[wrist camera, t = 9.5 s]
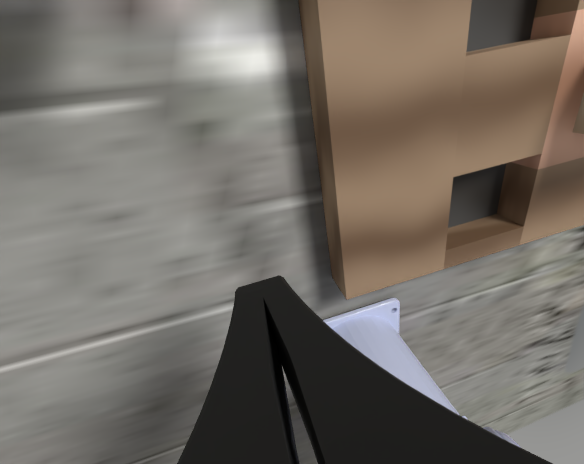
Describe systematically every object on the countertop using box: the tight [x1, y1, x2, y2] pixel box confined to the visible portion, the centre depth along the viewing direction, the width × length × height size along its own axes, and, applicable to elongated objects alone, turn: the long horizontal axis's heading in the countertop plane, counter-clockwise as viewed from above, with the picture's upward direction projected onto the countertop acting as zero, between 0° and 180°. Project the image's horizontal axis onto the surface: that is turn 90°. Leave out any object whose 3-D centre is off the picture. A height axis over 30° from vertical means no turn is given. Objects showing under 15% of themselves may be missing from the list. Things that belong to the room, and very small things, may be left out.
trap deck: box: [298, 0, 584, 300], centre depth 17 cm, size 19×22×2 cm
